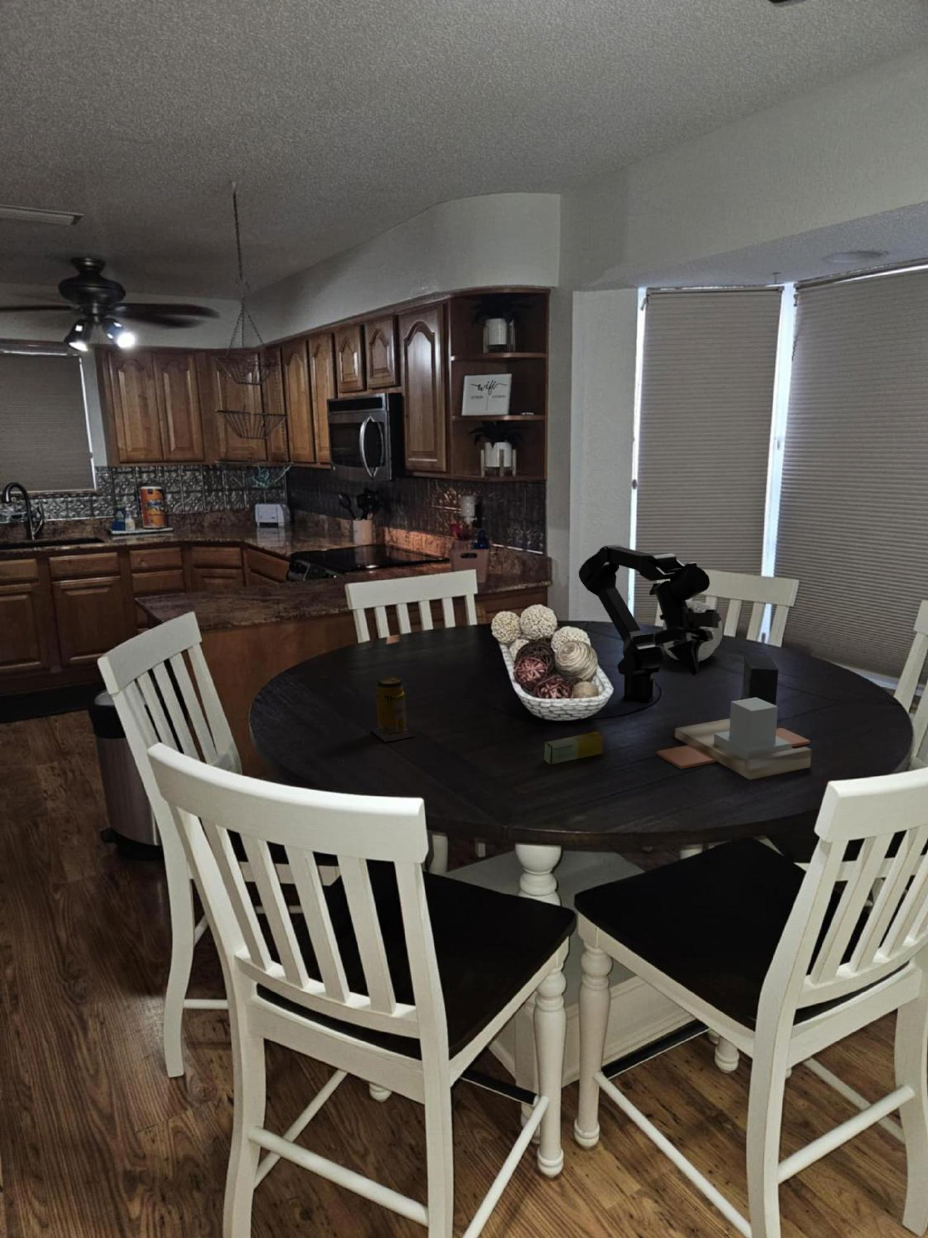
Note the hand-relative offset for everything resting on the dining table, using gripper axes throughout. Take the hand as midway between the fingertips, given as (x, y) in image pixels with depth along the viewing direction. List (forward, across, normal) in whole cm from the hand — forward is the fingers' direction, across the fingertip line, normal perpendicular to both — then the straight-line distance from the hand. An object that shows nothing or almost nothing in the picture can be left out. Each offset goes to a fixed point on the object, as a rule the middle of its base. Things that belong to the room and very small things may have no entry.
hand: (695, 674), depth 171 cm
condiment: (-4, -40, +53) cm, 67 cm away
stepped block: (+18, -10, -10) cm, 23 cm away
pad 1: (+16, -16, 0) cm, 23 cm away
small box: (+9, +21, -4) cm, 23 cm away
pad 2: (+18, +3, -12) cm, 21 cm away
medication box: (+11, -28, +18) cm, 36 cm away
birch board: (+18, -7, -7) cm, 20 cm away
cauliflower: (-10, +50, +19) cm, 54 cm away
